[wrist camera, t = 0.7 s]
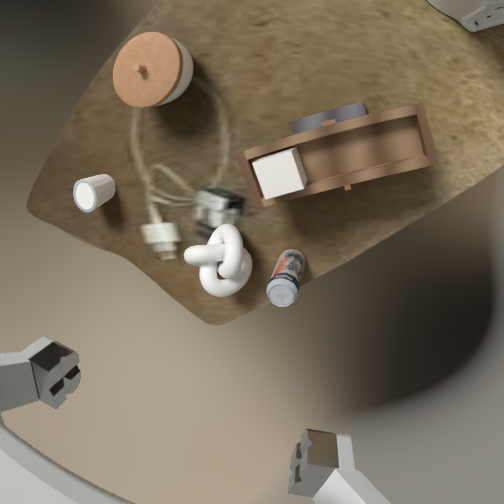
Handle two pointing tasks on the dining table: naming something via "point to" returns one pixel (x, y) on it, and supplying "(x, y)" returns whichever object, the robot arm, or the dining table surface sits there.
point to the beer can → (286, 278)
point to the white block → (280, 173)
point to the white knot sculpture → (221, 261)
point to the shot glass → (93, 192)
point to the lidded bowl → (152, 70)
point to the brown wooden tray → (347, 148)
